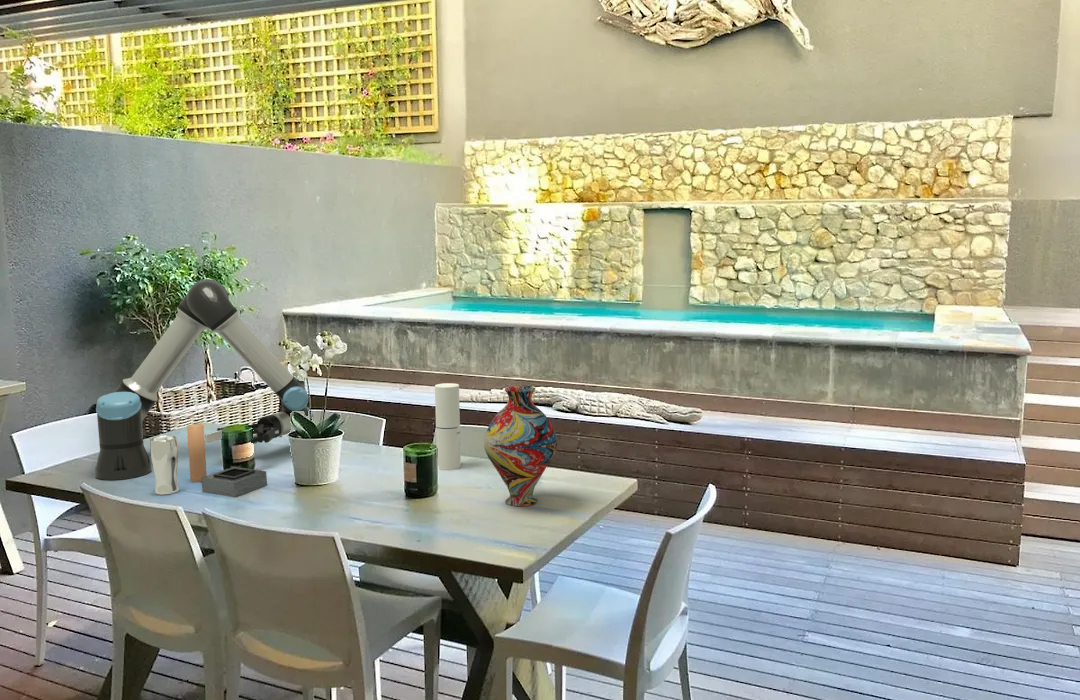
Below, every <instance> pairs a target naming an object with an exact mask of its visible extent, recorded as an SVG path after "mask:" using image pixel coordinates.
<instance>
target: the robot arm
mask: <svg viewBox="0 0 1080 700" xmlns="http://www.w3.org/2000/svg"><path fill="white" fill-rule="evenodd" d="M176 310H177V315H176V317H175V318H174V320H173V321H172V323H170V325H169V327H167V328H166V330H165V331H164V333H163V335H162V336H161V337H160V338H159V340H158V341H157V343H156V344H155V345H154V346H153V348H152V349H151V351H150V352H149V353H148V355H147V356H146V358H144V359H143V361H142V362H141V364H140V366H139V367H138V368H137V369H136V371H135V372H134V374H133V375H132V376H131V377H128V378H124V379H122V381H121V382H120V383H119V384H118V386H117V388H116V389H115V390H114V391H113V392H110V393H107V394H104V395H101V396H100V397H99V398H98V399H97V401H96V406H95V407H96V408H95V412H96V415H97V429H98V430H97V431H98V441H99V442H98V444H99V453H98V457H97V460H96V465H95V467H94V475H95V476H94V477H95V478H96V479H99V480H104V481H105V480H108V481H112V480H113V481H117V480H126V479H127V480H128V479H132V478H133V479H134V478H137V477H141V476H144V475H147V474H149V473H151V472H152V470H153V466H152V462H151V458H150V455H149V454H148V452H147V450H146V447H145V444H144V436H143V435H144V433H143V432H144V431H143V422H144V420H145V418H146V417H147V415H148V414H149V413H150V411H151V409H152V408H153V407H154V405H155V404H156V403H157V401H158V400H159V399H158V392H159V390H160V388H161V387H162V386H163V384H164V383H165V382H166V380H167V379H168V378H169V377H170V375H171V374H172V372H173V371H174V369H176V367H177V366H178V364H179V363H180V361H181V360H182V359H183V358H184V356H185V355H186V354H187V352H188V350H189V349H190V348H191V347H192V346H193V344H194V343H195V341H196V340H197V339H198V337H199V336H201V335H200V334H201V333H202V332H203V331H206V330H211V332H213V333H218V334H219V335H220V336H221V337H222V338H223V339H224V340H225V341H226V343H227V344H228V345H230V347H231V348H232V349H233V350H234V351H235V352H236V353H237V354H238V355H239V356H240V358H241V359H243V360H244V362H245V363H246V364H247V365H248V366H249V367H250V368H251V369H252V370H253V371H254V372H255V373H256V375H258V377H259V378H260V379H261V380H262V381H263V382H264V383H265V384H266V385H267V386H268V387H269V388H270V390H272V392H274V394H275V395H276V396H277V397H278V398H279V399H280V401H281V410H282V411H279V412H276V413H271V414H268V415H264V416H262V417H259V419H258V421H257V422H256V423H252V424H249V423H244V424H245V425H248V426H250V427H252V428H253V430H254V431H253V440H252V439H251V443H253V444H252V445H254V444H258V443H263V442H264V443H269V442H271V441H272V440H273V439H277V438H278V437H279V438H283V436H285V435H287V434H288V433H289V432H290V430H291V423H290V413H291V412H292V411H304V412H305V415H306V416H308V411H309V410H311V411H312V409H310V407H308V406H307V405H308V403H309V394H307V393H308V391H307V390H306V388H305V382H304V381H305V380H304V381H299V380H298V379H296V378H295V377H294V376H292V375H291V374H290V372H291V371H289V370H288V369H287V368H286V367H285V365H283V363H281V362H280V361H279V359H278V358H277V357H276V356H275V355H274V354H273V353H272V352H271V350H269V349H268V347H267V346H266V345H265V344H264V343H263V342H262V340H260V339H259V338H258V336H257V335H256V334H255V333H254V332H253V331H252V330H251V329H250V328H249V326H248V325H247V324H246V323H245V322H244V321H243V319H241V318H240V316H239V310H238V309H237V308H236V307H235V306H234V305H233V303H232V302H231V300H230V297H229V292H228V290H227V288H226V287H225V286H224V285H223V284H222V283H220V282H219V281H218V280H215V279H212V278H211V279H210V278H206V279H200V280H198V281H196V282H195V283H194V284H192V286H191V287H190V289H189V290H188V291H187V293H186V295H185V296H184V297H183V299H182V300H181V301H180V303H179V304H178V306H177V307H176ZM312 417H313V418H314V414H313V413H312ZM223 428H224V427H218V428H216V431H213V432H209V433H206V434H205V433H204V441H205V444H210V443H214V442H218V441H223V440H222V429H223ZM289 434H290V433H289Z"/></svg>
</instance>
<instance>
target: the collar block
mask: <svg viewBox="0 0 1080 700" xmlns="http://www.w3.org/2000/svg"><path fill="white" fill-rule="evenodd" d="M201 479H202V481H201V491H202V493H209V494H214V495H219V496H227V497H231V498H232V497H233V498H237V497H239V496H242V495H245V494H247V493H250V492H252V491H255V490H258V489H260V488H261V489H262V488H263V487H266V486H267V485H268V481H267V480H268V478H267V471H265V470H261V469H260V470H259V469H253V468H245V467H239V466H232V467H230V468H226V469H224V470H220V471H218V472H217V471H216V472H213V473H211V474H208V475H207V476H205V477H202V478H201Z"/></svg>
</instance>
